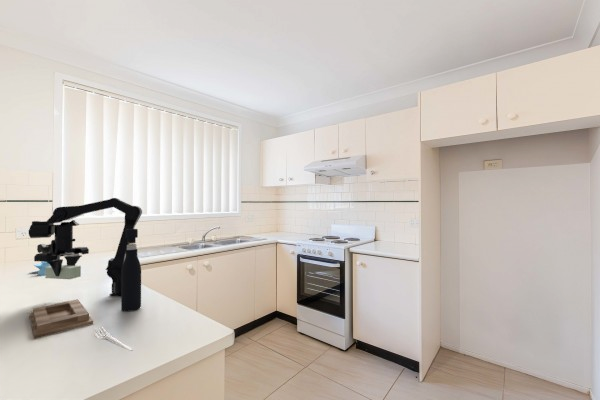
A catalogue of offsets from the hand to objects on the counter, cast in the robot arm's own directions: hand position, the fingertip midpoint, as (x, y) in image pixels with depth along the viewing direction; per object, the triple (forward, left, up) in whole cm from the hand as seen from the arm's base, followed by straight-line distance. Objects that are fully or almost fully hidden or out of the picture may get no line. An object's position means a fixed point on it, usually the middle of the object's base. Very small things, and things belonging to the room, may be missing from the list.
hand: (63, 274), depth 114 cm
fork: (-48, +30, -11) cm, 58 cm away
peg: (0, 0, -1) cm, 1 cm away
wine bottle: (-35, +6, -11) cm, 37 cm away
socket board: (-18, +18, -10) cm, 28 cm away
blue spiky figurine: (+57, -43, -11) cm, 72 cm away
